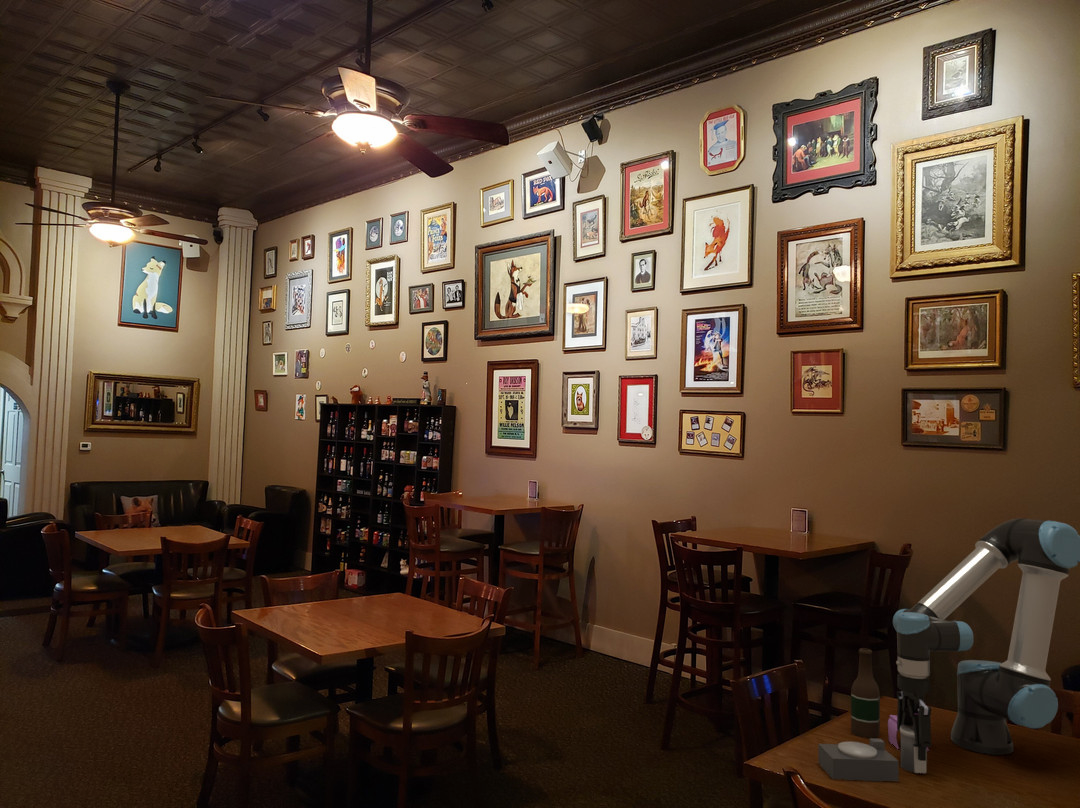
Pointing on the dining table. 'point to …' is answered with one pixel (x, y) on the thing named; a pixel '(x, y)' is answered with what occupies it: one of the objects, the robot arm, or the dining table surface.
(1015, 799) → the dining table surface
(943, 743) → the dining table surface
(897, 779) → the camera body block
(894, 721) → the toy chair
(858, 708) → the beer bottle
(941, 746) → the dining table surface
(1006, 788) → the dining table surface
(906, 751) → the lens
